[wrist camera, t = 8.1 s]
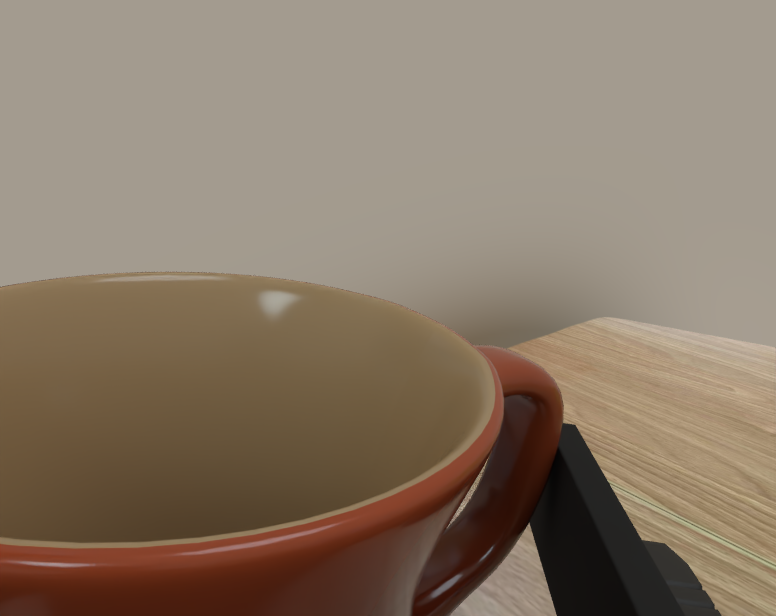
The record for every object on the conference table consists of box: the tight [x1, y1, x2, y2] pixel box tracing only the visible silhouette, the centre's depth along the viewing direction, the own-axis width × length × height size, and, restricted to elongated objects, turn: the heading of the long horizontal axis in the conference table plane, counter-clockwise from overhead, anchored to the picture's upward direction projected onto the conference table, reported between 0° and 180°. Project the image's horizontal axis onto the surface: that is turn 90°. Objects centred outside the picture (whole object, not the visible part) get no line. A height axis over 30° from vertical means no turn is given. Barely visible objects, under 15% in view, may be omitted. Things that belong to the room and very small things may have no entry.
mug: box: [0, 272, 564, 616], centre depth 10 cm, size 13×9×11 cm
